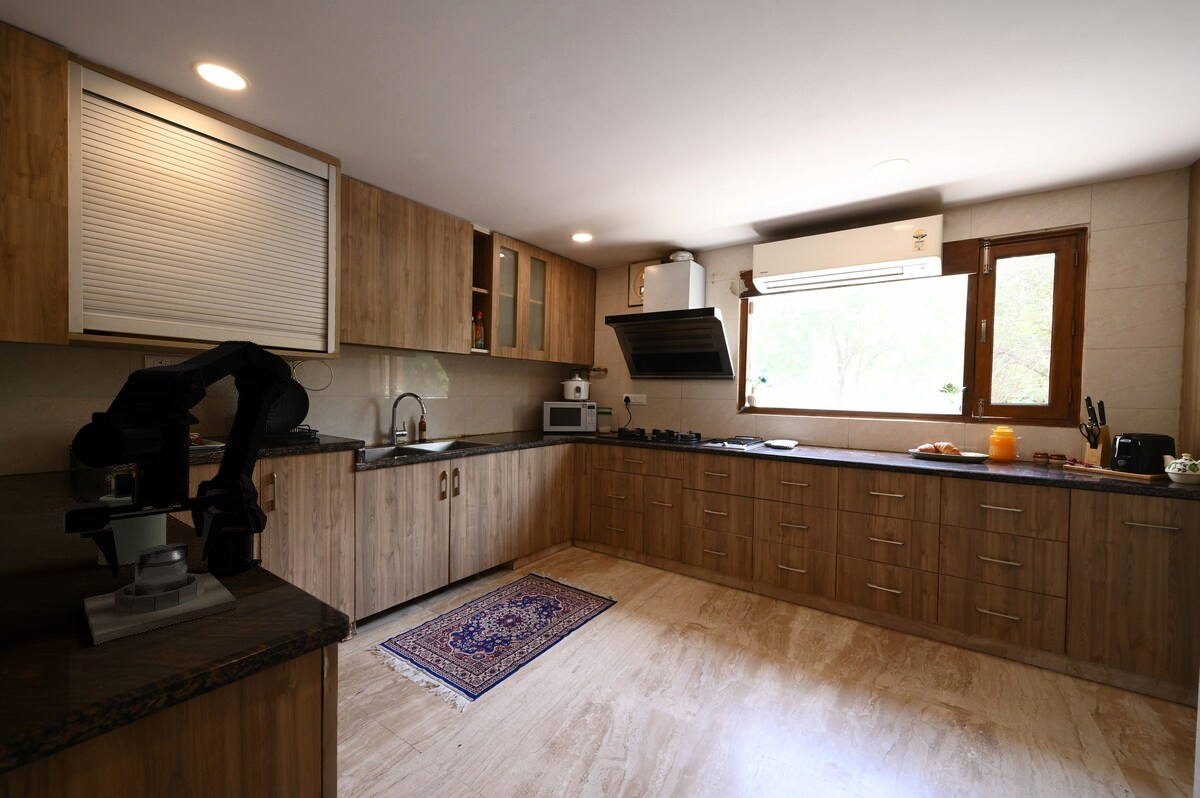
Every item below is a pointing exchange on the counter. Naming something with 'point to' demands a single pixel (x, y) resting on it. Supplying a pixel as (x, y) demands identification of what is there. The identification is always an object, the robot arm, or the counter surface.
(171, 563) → the piston
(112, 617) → the ring plate
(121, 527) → the can
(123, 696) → the counter surface
